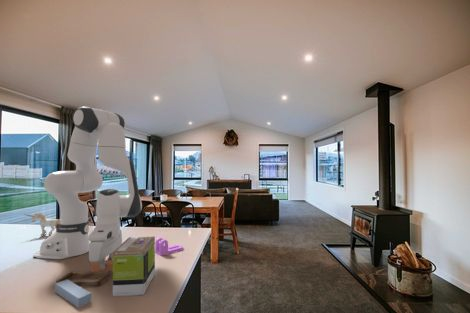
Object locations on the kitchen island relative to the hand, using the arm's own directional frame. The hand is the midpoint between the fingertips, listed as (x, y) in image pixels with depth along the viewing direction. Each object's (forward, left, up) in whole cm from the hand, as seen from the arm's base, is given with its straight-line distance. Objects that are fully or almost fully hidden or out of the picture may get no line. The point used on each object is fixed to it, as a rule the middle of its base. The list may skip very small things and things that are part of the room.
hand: (107, 265), depth 96 cm
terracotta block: (+1, 0, -2) cm, 2 cm away
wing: (-1, -20, -2) cm, 20 cm away
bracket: (+21, +20, -2) cm, 29 cm away
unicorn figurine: (-58, +46, -2) cm, 74 cm away
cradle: (-3, -10, -2) cm, 11 cm away
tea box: (+16, -13, -2) cm, 21 cm away
